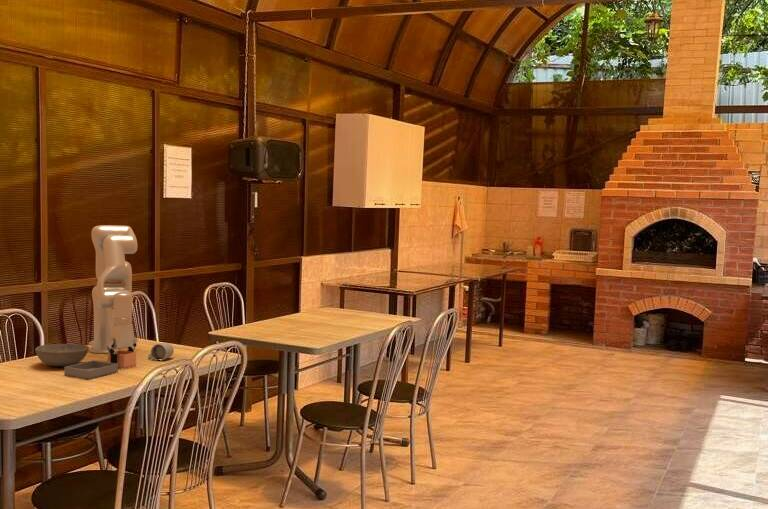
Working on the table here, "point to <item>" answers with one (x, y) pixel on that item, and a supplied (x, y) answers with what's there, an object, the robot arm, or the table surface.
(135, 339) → the robot arm
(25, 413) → the table surface
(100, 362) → the tray
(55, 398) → the table surface
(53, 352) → the bowl
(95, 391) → the table surface
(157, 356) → the ceramic mug
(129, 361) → the crate small
